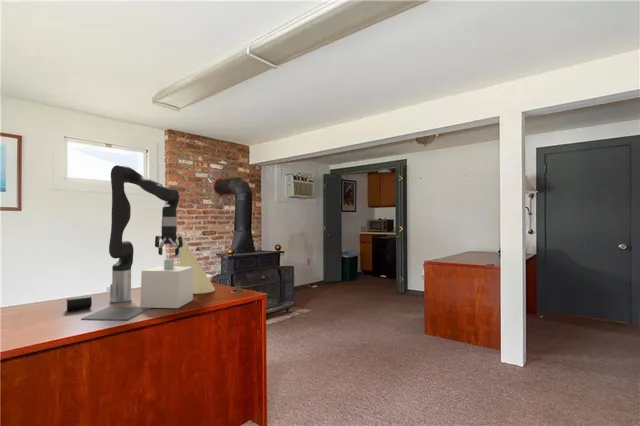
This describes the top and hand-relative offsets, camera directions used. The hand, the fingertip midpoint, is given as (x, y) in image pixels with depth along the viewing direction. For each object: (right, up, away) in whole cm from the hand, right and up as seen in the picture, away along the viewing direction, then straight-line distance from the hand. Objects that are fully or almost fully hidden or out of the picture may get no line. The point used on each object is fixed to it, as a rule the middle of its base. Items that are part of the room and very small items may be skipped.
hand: (168, 255), depth 191 cm
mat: (-17, -26, -19) cm, 36 cm away
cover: (0, -26, 0) cm, 26 cm away
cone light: (+3, -27, +33) cm, 42 cm away
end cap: (-40, -26, -13) cm, 49 cm away
